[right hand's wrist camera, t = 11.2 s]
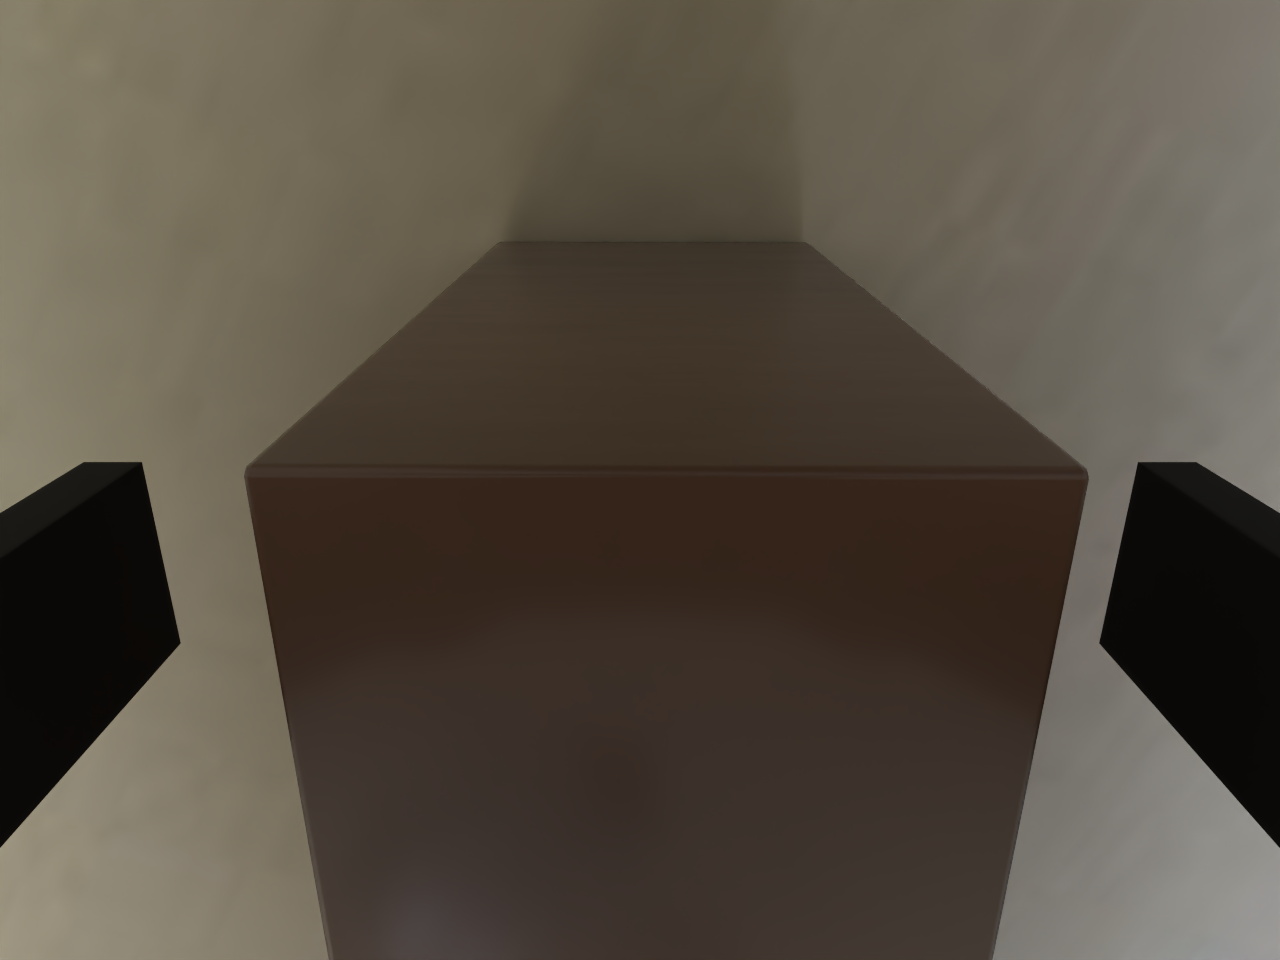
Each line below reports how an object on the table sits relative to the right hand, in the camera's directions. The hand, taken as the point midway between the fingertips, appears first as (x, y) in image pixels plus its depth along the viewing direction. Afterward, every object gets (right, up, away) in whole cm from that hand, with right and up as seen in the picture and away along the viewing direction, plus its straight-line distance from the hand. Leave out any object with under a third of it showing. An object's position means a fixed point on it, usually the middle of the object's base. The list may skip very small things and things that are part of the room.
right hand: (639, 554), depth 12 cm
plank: (0, -11, +9) cm, 14 cm away
